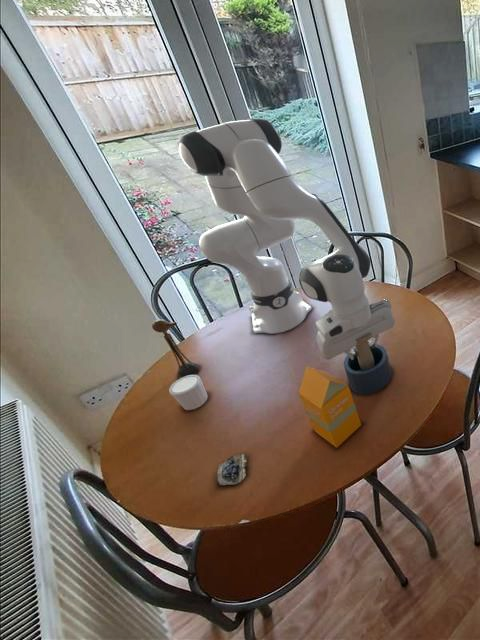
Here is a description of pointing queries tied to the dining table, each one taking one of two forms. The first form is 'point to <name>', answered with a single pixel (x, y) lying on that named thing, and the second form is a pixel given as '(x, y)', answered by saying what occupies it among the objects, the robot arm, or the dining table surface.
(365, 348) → the handle
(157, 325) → the wooden tabletop sculpture
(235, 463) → the mineral rock
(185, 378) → the white ribbed cylinder
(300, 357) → the dining table surface
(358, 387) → the jar
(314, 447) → the dining table surface
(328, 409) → the orange juice
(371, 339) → the robot arm
